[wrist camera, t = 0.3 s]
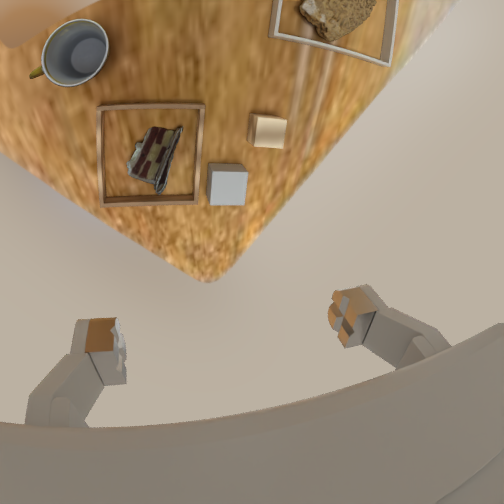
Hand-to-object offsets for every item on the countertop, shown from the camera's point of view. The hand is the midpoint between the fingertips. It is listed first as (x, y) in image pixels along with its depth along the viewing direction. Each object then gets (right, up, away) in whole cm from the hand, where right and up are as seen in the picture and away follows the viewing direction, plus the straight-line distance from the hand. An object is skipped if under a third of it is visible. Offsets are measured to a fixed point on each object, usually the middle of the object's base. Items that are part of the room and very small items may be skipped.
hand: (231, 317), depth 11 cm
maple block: (+3, +24, +42) cm, 48 cm away
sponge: (+16, +50, +30) cm, 60 cm away
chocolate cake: (-16, +19, +39) cm, 47 cm away
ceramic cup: (-27, +33, +27) cm, 51 cm away
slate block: (-4, +16, +45) cm, 48 cm away
